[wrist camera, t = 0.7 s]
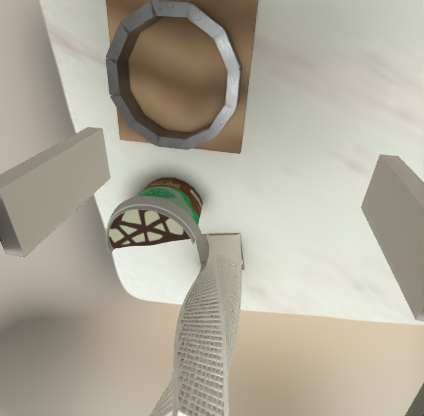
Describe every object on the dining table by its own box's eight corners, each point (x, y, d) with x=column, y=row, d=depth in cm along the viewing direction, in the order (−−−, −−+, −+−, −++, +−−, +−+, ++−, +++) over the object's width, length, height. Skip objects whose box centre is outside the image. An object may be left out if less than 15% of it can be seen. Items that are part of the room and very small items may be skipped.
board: (108, -9, 32) (105, -10, 31) (258, 0, 30) (257, -1, 29) (122, 137, 40) (119, 139, 39) (240, 151, 38) (240, 153, 37)
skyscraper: (193, 225, 45) (108, 434, 22) (246, 223, 44) (216, 449, 20) (202, 268, 49) (139, 484, 26) (251, 267, 48) (231, 500, 24)
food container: (200, 162, 40) (181, 196, 31) (212, 201, 42) (197, 243, 34) (121, 177, 43) (84, 212, 35) (136, 213, 46) (106, 254, 37)
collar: (113, 0, 31) (99, -3, 29) (248, 8, 30) (246, 5, 27) (125, 134, 39) (114, 141, 36) (234, 146, 37) (231, 155, 34)
